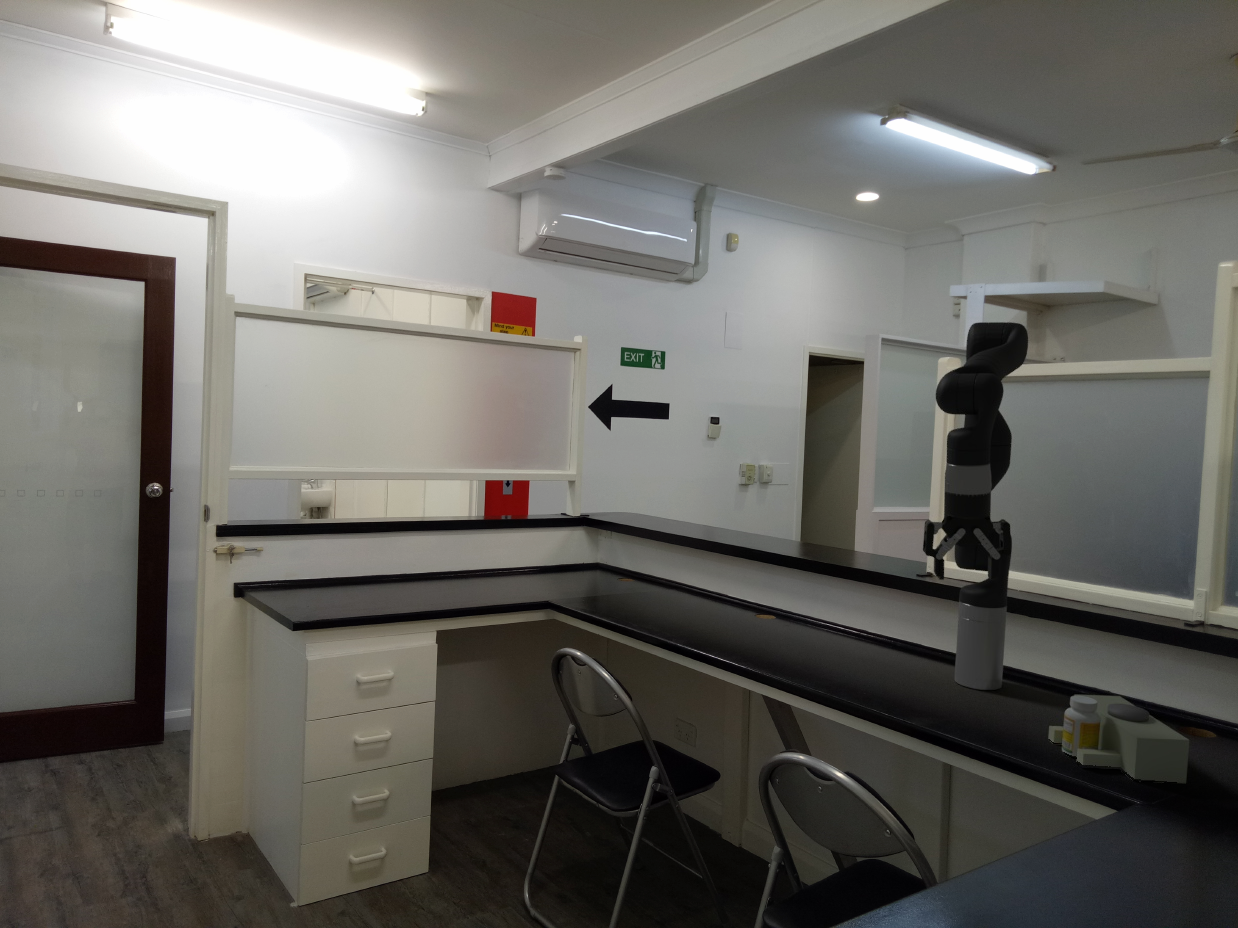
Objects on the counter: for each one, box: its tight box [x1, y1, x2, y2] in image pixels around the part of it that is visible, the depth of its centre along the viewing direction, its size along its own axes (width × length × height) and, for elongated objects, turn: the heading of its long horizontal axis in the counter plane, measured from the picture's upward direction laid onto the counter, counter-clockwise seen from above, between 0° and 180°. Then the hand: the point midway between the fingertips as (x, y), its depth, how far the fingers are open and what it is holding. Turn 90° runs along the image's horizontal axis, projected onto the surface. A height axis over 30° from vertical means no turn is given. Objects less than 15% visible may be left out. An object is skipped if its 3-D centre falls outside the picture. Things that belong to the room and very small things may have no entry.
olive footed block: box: [1047, 694, 1190, 784], centre depth 145 cm, size 20×14×8 cm
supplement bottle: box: [1061, 695, 1101, 757], centre depth 145 cm, size 5×5×10 cm
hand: (965, 578), depth 152 cm, fingers open, 8 cm apart
